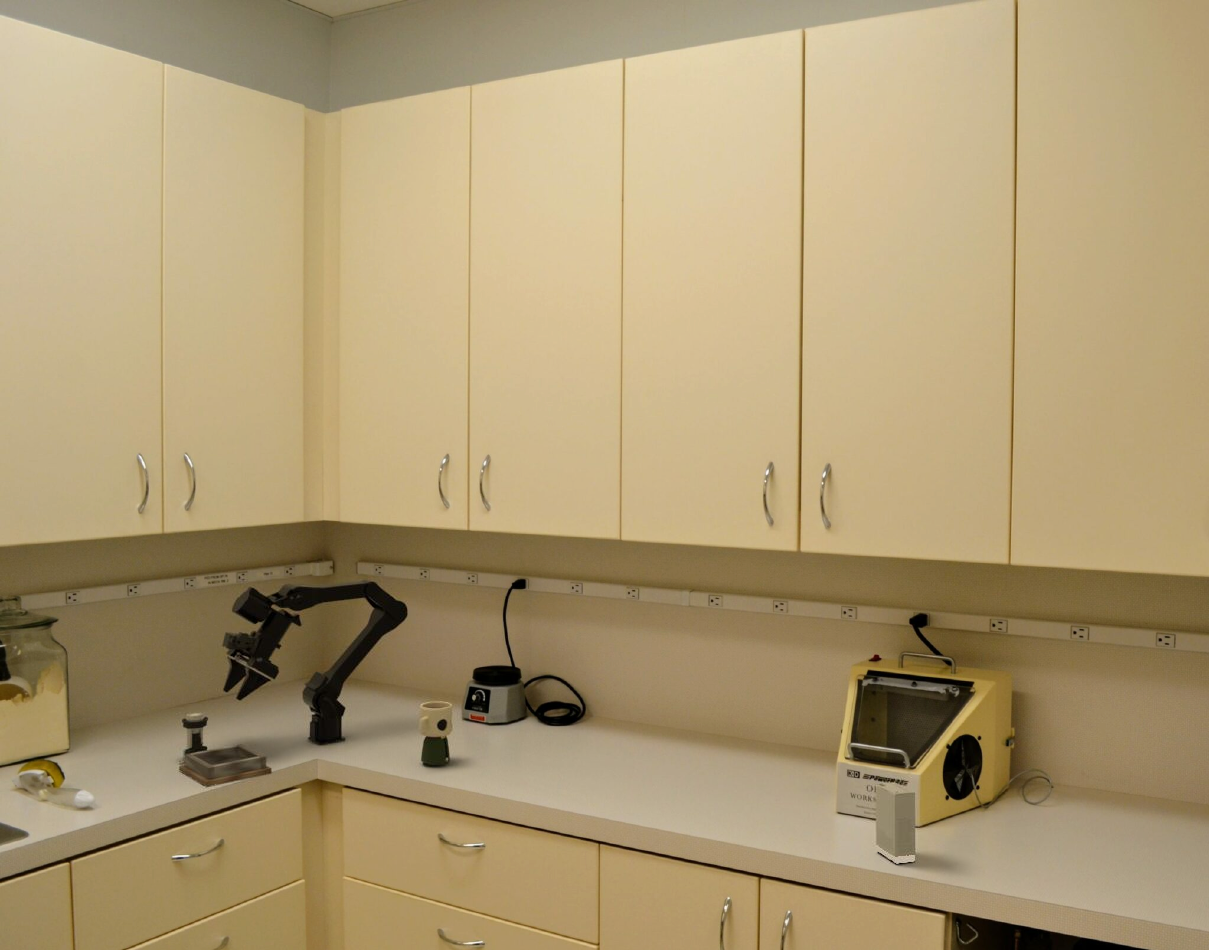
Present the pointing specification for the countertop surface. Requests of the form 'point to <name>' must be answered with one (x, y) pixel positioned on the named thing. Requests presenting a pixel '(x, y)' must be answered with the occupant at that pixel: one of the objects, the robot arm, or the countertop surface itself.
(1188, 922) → the countertop surface
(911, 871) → the countertop surface
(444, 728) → the character mug
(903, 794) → the skincare box
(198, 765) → the tray
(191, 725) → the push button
